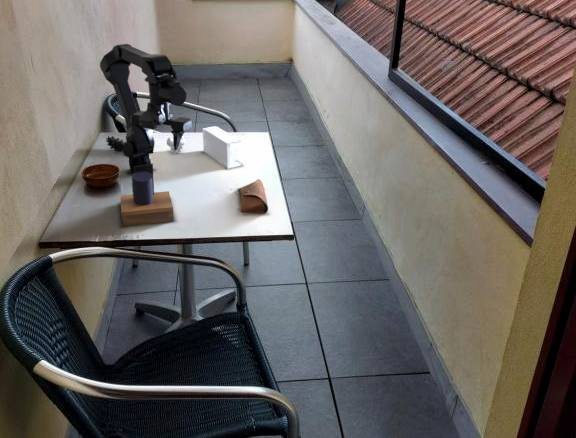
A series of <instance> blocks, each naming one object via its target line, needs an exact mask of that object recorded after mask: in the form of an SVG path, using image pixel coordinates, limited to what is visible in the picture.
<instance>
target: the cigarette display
mask: <svg viewBox="0 0 576 438" xmlns="http://www.w3.org/2000/svg"><path fill="white" fill-rule="evenodd" d="M241 142H242V140H240V139H239V138H237V137H235V136H234V135H232V134H230V133H229V132H227V131H225V130H224V129H222V128H220V127H219V126H217V125H213V126H209V127H203V128H202V145H203V147H202V148H203V149H202V151H203V153H205V154H207V155H208V156H210V157H211V158H213V159H214V160H216V161H217V162H219V164H222V165H223V166H224V167H226V169H227V170H228V169H231V168H237V167H241V166H242V164H241V163H240V162H238V161H237V150H236V148H234V147H231V145H232V144H238V143H241Z"/></svg>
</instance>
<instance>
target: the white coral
mask: <svg viewBox="0 0 576 438" xmlns="http://www.w3.org/2000/svg"><path fill="white" fill-rule="evenodd" d="M185 144H186V139H185V138H184V135H183V136H182V138H181V141H180V143H179V146H178V149H177V150H174V141H173V137H172V138H171V137H168V138H167V139H166V145H167V146H168V147H169V148H170V152H172V153H173V154H176V153H181V152H182V150H183V146H184V145H185Z"/></svg>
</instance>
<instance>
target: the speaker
mask: <svg viewBox="0 0 576 438" xmlns="http://www.w3.org/2000/svg"><path fill="white" fill-rule="evenodd" d="M154 180H155V179H154V164H153V163H151V164H146V165H140V166H134V174H131V188H132V189H131V190H132V195H133V200H134V202H135V203H136V204H139V205H148V204H150V203H152V202H153V195H154V193H155V181H154Z"/></svg>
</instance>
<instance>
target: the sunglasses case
mask: <svg viewBox="0 0 576 438" xmlns="http://www.w3.org/2000/svg"><path fill="white" fill-rule="evenodd" d="M237 191H238V194H239V201H240V207H239V209H240V211H239V212H240V213H242V214H247V215H265V214H267V213H268V211H269V205H268V200H267V195H266V191H265V186H264V184H263V181H262V180H261V179H260V178H257V179H256V180H254V181H253V182H250V183H249V184H246V185H244V186H241V187H239V188H238V189H237Z"/></svg>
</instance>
